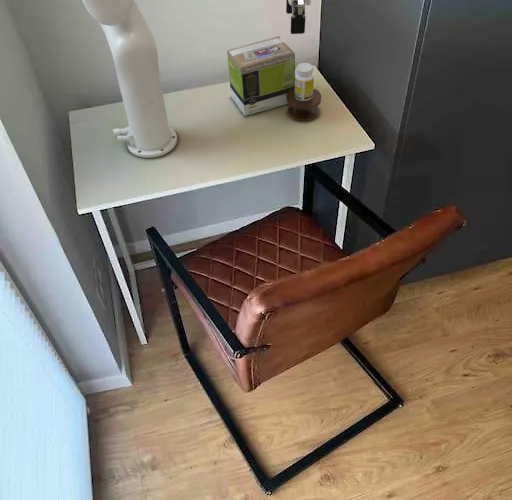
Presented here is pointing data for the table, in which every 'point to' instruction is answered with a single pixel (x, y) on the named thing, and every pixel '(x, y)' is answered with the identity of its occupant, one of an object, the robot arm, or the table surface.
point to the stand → (303, 106)
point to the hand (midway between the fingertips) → (295, 22)
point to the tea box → (261, 74)
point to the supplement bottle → (304, 82)
